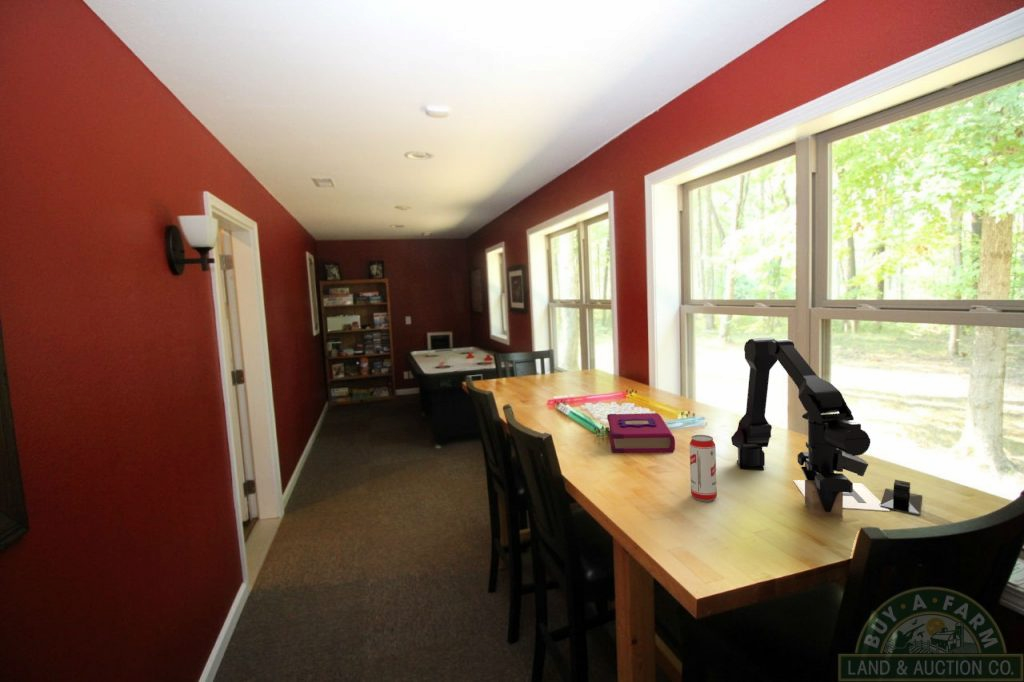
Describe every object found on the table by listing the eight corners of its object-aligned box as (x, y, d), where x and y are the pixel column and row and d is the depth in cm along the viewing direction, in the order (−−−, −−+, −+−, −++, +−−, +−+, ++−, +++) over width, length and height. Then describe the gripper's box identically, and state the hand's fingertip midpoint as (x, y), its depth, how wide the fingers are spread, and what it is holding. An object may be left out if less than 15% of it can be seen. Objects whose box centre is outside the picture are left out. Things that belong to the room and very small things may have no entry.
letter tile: (810, 506, 112) (810, 504, 112) (792, 480, 128) (792, 479, 128) (890, 511, 108) (890, 510, 107) (861, 484, 123) (861, 483, 123)
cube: (812, 515, 108) (812, 490, 107) (804, 503, 114) (804, 479, 113) (842, 517, 106) (842, 492, 105) (833, 504, 112) (833, 481, 111)
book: (661, 430, 183) (661, 411, 182) (675, 454, 156) (674, 431, 155) (607, 431, 186) (606, 412, 186) (611, 454, 159) (610, 433, 158)
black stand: (919, 515, 105) (920, 496, 104) (878, 507, 110) (879, 488, 109) (922, 496, 114) (922, 478, 113) (884, 489, 119) (884, 471, 118)
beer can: (715, 493, 123) (714, 434, 121) (718, 503, 117) (716, 442, 115) (690, 491, 125) (688, 433, 123) (691, 501, 119) (689, 441, 118)
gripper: (881, 456, 97) (881, 527, 99) (847, 430, 115) (847, 491, 116) (820, 454, 101) (820, 523, 102) (796, 429, 118) (797, 488, 120)
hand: (823, 505), depth 110 cm, fingers closed on cube, 6 cm apart
